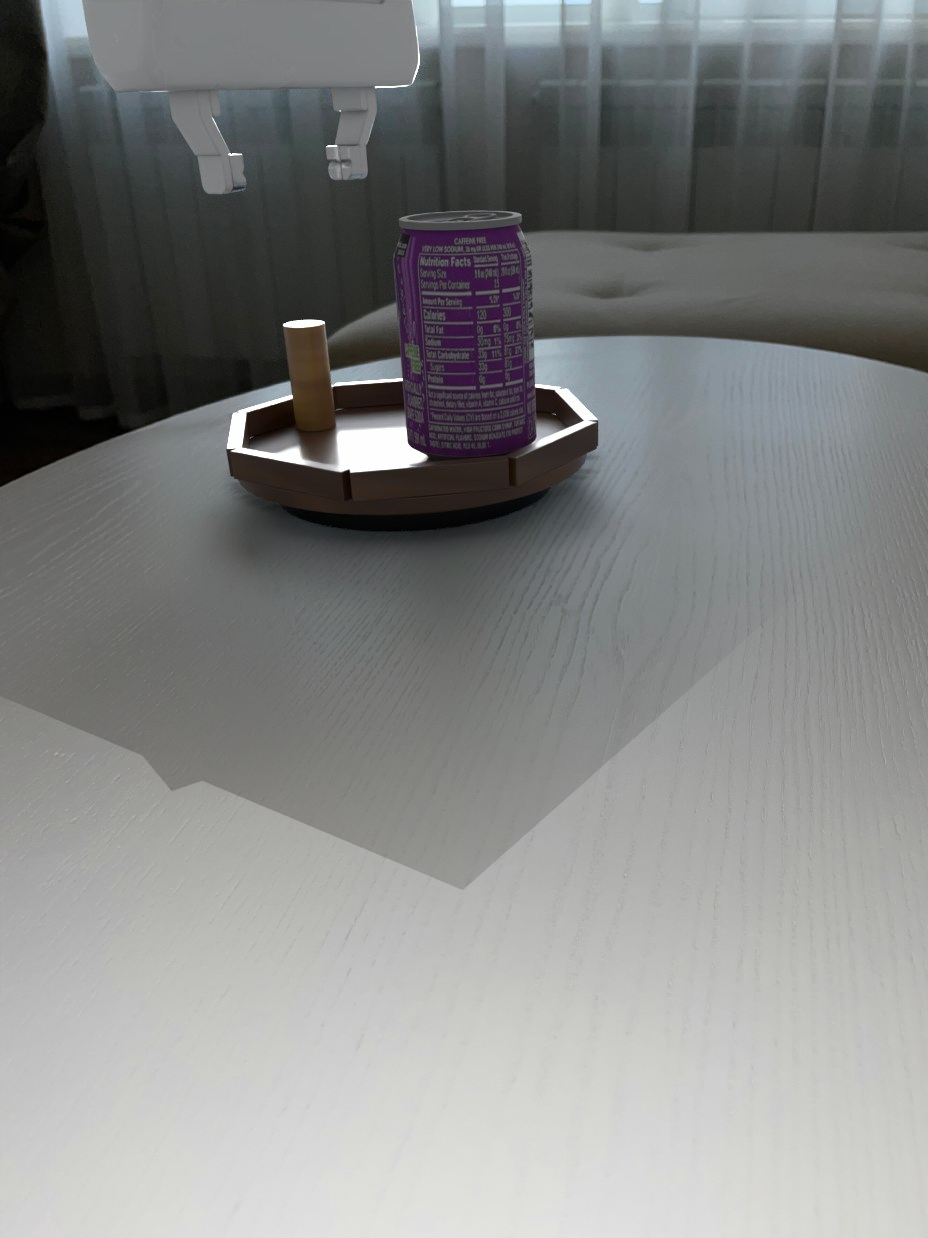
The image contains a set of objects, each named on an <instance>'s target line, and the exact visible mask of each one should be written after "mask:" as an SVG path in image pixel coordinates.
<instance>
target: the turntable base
mask: <svg viewBox="0 0 928 1238" xmlns="http://www.w3.org/2000/svg"><path fill="white" fill-rule="evenodd" d="M551 488H552V487H550V488H547V489H545V490H542V491H539V492H537V493H534V494H531V495H528V496H524V497H521V498H517V499H513V500H509V501H506V502H501V503H496V504H491V505H486V506H481V507H475V508H468V509H462V510H454V511H446V512H437V513H424V514H409V515H351V514H336V513H326V512H317V511H309V510H304V509H298V508H293V507H288V506H284V505H280V504H278V505H279V507H280V508H281V509H282V510H283V511H285V512H286V513H288V514H289V515H291V516H293V517H294V518H297V519H300V520H301V521H305V522H307V523H310V524H314V525H318V526H323V527H327V528H333V529H339V530H350V531H356V532H374V533H378V532H379V533H404V532H405V533H406V532H422V531H432V530H433V531H434V530H443V529H444V530H445V529H451V528H457V527H458V528H459V527H464V526H469V525H475V524H480V523H483V522H488V521H492V520H496V519H499V518H503V517H506V516H509V515H512V514H514V513H517V512H519V511H522V510H523V509H526V508H528V507H530V506H532V505H534V504H536V503H537V502H539V501H540V500H542V498H544V497H545V496H546V495H547V494H548V493H549V491H550V490H551Z"/></svg>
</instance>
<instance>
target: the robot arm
mask: <svg viewBox="0 0 928 1238" xmlns="http://www.w3.org/2000/svg"><path fill="white" fill-rule="evenodd" d="M81 4H82V8H83V16H84V21H85V26H86V33H87V37H88V43H89V46H90V51H91V55H92V58H93V59H92V60H93V61H94V64H95V66H96V69H97V70H98V71H99V73H100V74H101V76H102V77H103V78H104V80H105V81H106V82H107V83H108V85H109V86H110V87H111V88H112V90H113V91H115V92H117V93H167V97H168V105H169V111H170V115H171V120H172V121H173V123H174V124H175V126H176V128H177V129H178V131H179V132H180V134H181V136H182V137H183V138H184V140H185V142H186V144H187V145H188V146H189V148H190V149H191V151H192V153H193V155H194V156H197V162H198V163H197V164H198V169H199V175H200V181H201V186H202V188H203V191H204V192H205V193H206V194H207V195H227V194H236V193H243V192H244V191H246V188H247V177H246V175H245V174H244V171H245V163H244V156H243V154H242V153H232V154H231V151H230V149H229V147H228V145H227V143H226V142H225V139H224V137H223V136H222V133H221V132H220V130H219V127H218V125H217V123H216V122H215V119H214V117H221V115H222V108H221V101H220V93H219V92H222V91H223V92H225V91H272V90H273V91H274V90H320V89H321V90H322V89H323V90H326V89H327V90H328V89H331V98H332V106H333V107H332V108H333V111H334V112H340V116H339V122H338V127H337V130H336V136H335V141H334V142H335V143H334V145H327V146H325V154H326V160H327V162H328V166H327V171H328V175H329V177H330V179H331V180H333V181H356V180H357V181H358V180H365V179H366V178H367V177H368V174H369V167H368V156H367V145H368V142H369V139H370V137H371V136H370V135H371V132H372V129H373V126H374V124H375V123H374V122H375V119H376V116H377V113H378V102H377V92H376V91H377V90H376V89H377V88H399V87H401V88H402V87H409V86H412V85H413V83H414V81H415V78H416V75H417V73H418V69H419V66H420V50H419V49H420V48H419V40H418V39H419V38H418V31H417V25H416V24H417V23H416V16H415V10H414V3H413V0H81Z"/></svg>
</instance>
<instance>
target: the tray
mask: <svg viewBox="0 0 928 1238" xmlns="http://www.w3.org/2000/svg"><path fill="white" fill-rule="evenodd" d="M282 329H283V337H284V343H285V344H284V345H285V352H286V360H287V367H288V374H289V375H288V376H289V381H290V382H289V383H290V390H291V395H288V396H284V397H281V398H278V399H274V400H271V401H267V402H264V403H260V404H257V405H254V406H250V407H247V408H244V409H240V410H237V411H236V412H233V413H232V415H231V420H230V425H229V432H228V437H227V444H226V448H225V451H226V457H227V463H228V469H229V476H230V477H232V478H233V479H234V480H237V481H238V482H239V484H240V486H241V487H242V488H244V489H245V490H246V491H247V492H248V493H250V494H251V495H254V496H256V497H258V498H259V499H263V500H265V501H267V502H270V503H272V504H276V505H279V504H280V505H284V506H288V507H293V508H298V509H304V510H309V511H317V512H326V513H336V514H351V515H409V514H424V513H437V512H446V511H454V510H462V509H468V508H475V507H481V506H486V505H491V504H496V503H501V502H506V501H509V500H513V499H517V498H521V497H524V496H528V495H531V494H534V493H537V492H539V491H542V490H545V489H547V488H550V487H551V488H552V487H554V486H557V485H559V484H561V483H562V482H564V481H566V480H567V479H569V478H571V477H572V476H574V475H575V474H576V473H578V472H579V471H580V470H581V468H582V467H583V466H584V464H585V463H586V460H587V457H588V454H589V453H591V452H593V451H595V450H597V449H598V446H599V419H598V418H597V417H596V416H595V415H594V414H593V413H592V412H590V410H589V409H587V408H586V406H585V405H584V404H583V403H582V402H581V401H580V400H579V399H578V398H577V397H576V396H575V395H574V394H573V393H572V392H571V391H570V390H569V388H563V387H562V386H554V385H553V386H552V385H546V384H538V383H535V397H536V435H537V437H536V440H535V441H534V442H533V443H532V444H530V445H528V446H526V447H523V448H521V449H519V450H517V451H514V452H512V453H510V454H507V455H505V456H495V457H482V458H470V459H458V460H446V461H435V460H433V459H431V458H430V457H428V456H427V455H425V454H423V453H421V452H419V451H417V450H415V449H413V448H411V447H410V446H409V445H408V442H407V430H406V418H405V405H404V393H403V380H402V378H391V379H389V378H388V379H377V380H363V381H362V380H361V381H349V382H348V381H347V382H336V383H334V384H332V375H331V366H330V365H331V364H330V357H329V347H328V338H327V330H326V323H325V321H323V320H319V319H318V320H317V319H303V320H302V319H301V320H293V321H288V322H286V323H283V324H282ZM551 488H550V489H551ZM280 505H279V506H280Z"/></svg>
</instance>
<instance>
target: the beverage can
mask: <svg viewBox="0 0 928 1238" xmlns="http://www.w3.org/2000/svg"><path fill="white" fill-rule="evenodd" d="M522 220H523V219H522V214H521V213H519V212H514V211H507V210H506V211H505V210H456V211H453V210H452V211H438V212H437V211H436V212H426V213H417V214H409V215H405V216H402V217H400V218H398V225H399V228H401V233H400V236H399V238H398V242H397V244H396V247H395V250H394V253H393V257H392V267H393V275H394V276H393V279H394V291H395V302H396V303H395V304H396V305H395V306H396V316H397V317H396V318H397V328H398V329H397V330H398V340H399V341H398V343H399V352H400V355H399V356H400V365H401V379H402V380H403V393H404V405H405V418H406V430H407V442H408V445H409V446H410V447H411V448H413V449H415V450H417V451H419V452H421V453H423V454H425V455H427V456H428V457H430V458H431V459H433V460H435V461H446V460H458V459H470V458H482V457H495V456H505V455H507V454H510V453H512V452H514V451H517V450H519V449H521V448H523V447H526V446H528V445H530V444H532V443H533V442H534V441H535V440H536V437H537V435H536V397H535V384H536V364H535V328H534V327H535V325H534V287H533V286H534V285H533V255H532V250H531V248H530V246H529V244H528V242H527V239H526V237H525V235H524V233H523V231H522V228H521V226H520V224H521V223H522Z"/></svg>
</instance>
